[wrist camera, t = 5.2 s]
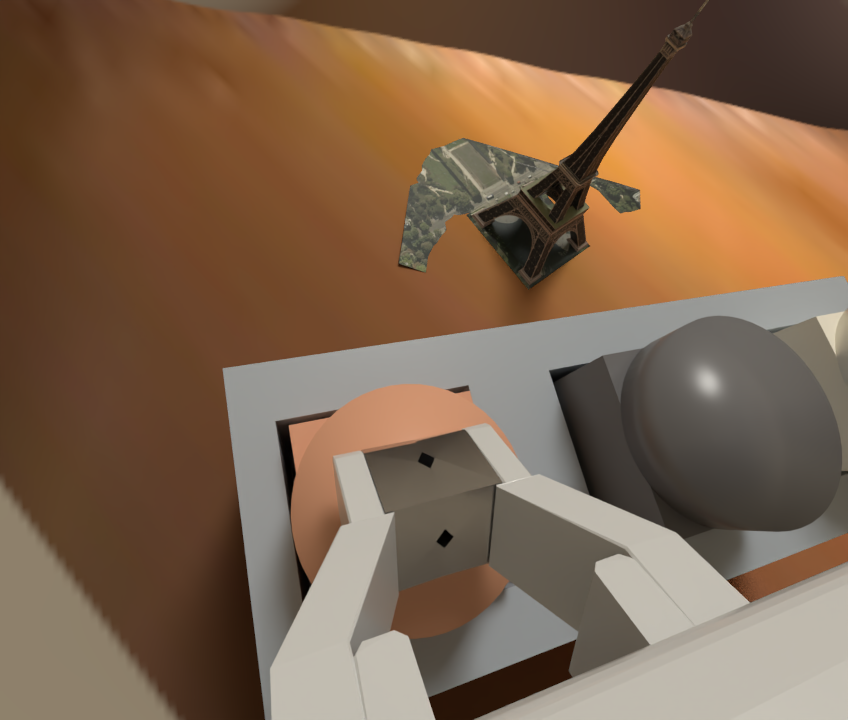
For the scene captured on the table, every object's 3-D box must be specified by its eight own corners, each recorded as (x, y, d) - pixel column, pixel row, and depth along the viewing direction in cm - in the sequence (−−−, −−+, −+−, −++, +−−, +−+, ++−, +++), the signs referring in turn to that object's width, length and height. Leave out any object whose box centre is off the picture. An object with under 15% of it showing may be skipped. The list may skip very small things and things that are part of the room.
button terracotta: (419, 427, 17) (492, 367, 10) (450, 558, 16) (558, 593, 9) (291, 454, 16) (273, 406, 9) (314, 599, 15) (314, 678, 8)
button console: (670, 354, 25) (843, 275, 17) (729, 497, 23) (959, 488, 15) (262, 432, 19) (222, 368, 11) (291, 639, 17) (270, 759, 9)
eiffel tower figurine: (636, 194, 30) (865, -32, 17) (645, 332, 26) (940, 171, 14) (418, 131, 27) (506, -188, 15) (394, 275, 24) (484, 13, 11)
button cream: (736, 357, 20) (961, 274, 13) (783, 462, 19) (1060, 431, 12) (652, 375, 19) (853, 292, 12) (697, 489, 18) (952, 472, 11)
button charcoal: (600, 385, 18) (781, 304, 11) (643, 505, 17) (878, 499, 10) (494, 407, 17) (624, 330, 10) (532, 539, 16) (713, 561, 9)
